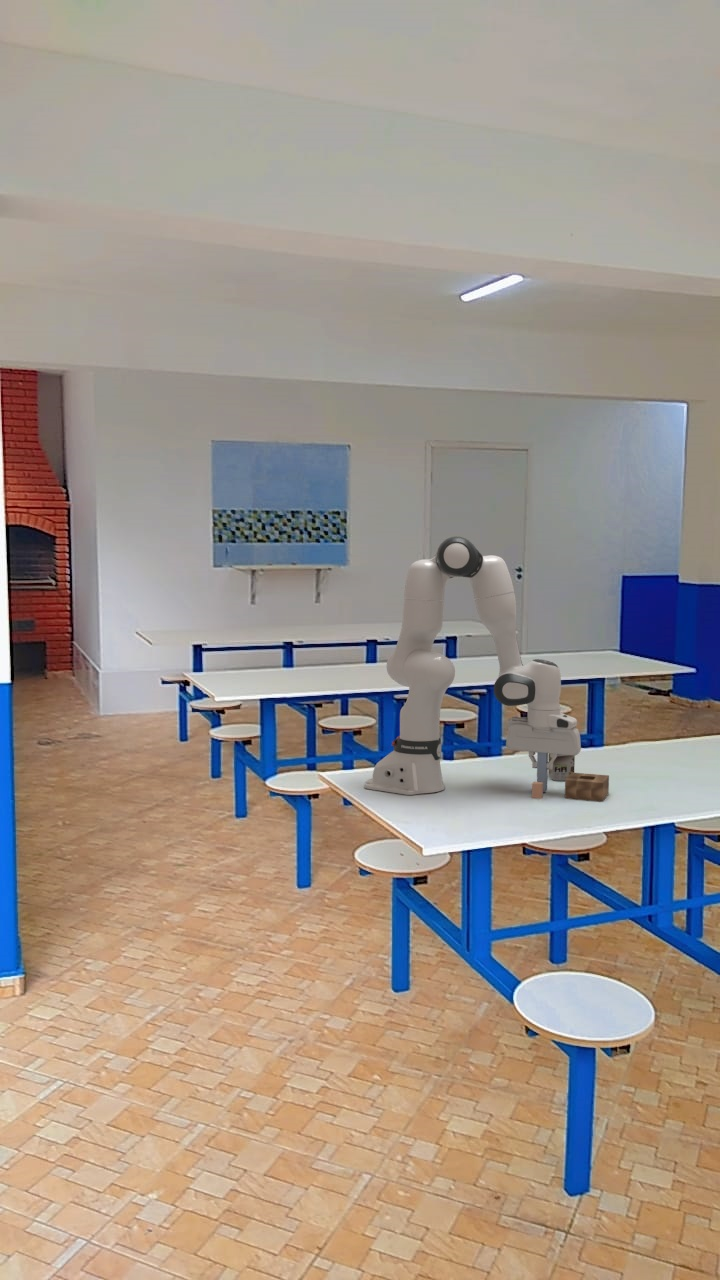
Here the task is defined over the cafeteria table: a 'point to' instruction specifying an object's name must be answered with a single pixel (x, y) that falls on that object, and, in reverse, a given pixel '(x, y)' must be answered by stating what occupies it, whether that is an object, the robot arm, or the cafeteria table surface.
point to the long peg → (542, 769)
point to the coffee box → (562, 767)
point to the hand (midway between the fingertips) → (542, 768)
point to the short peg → (537, 790)
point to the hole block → (587, 786)
